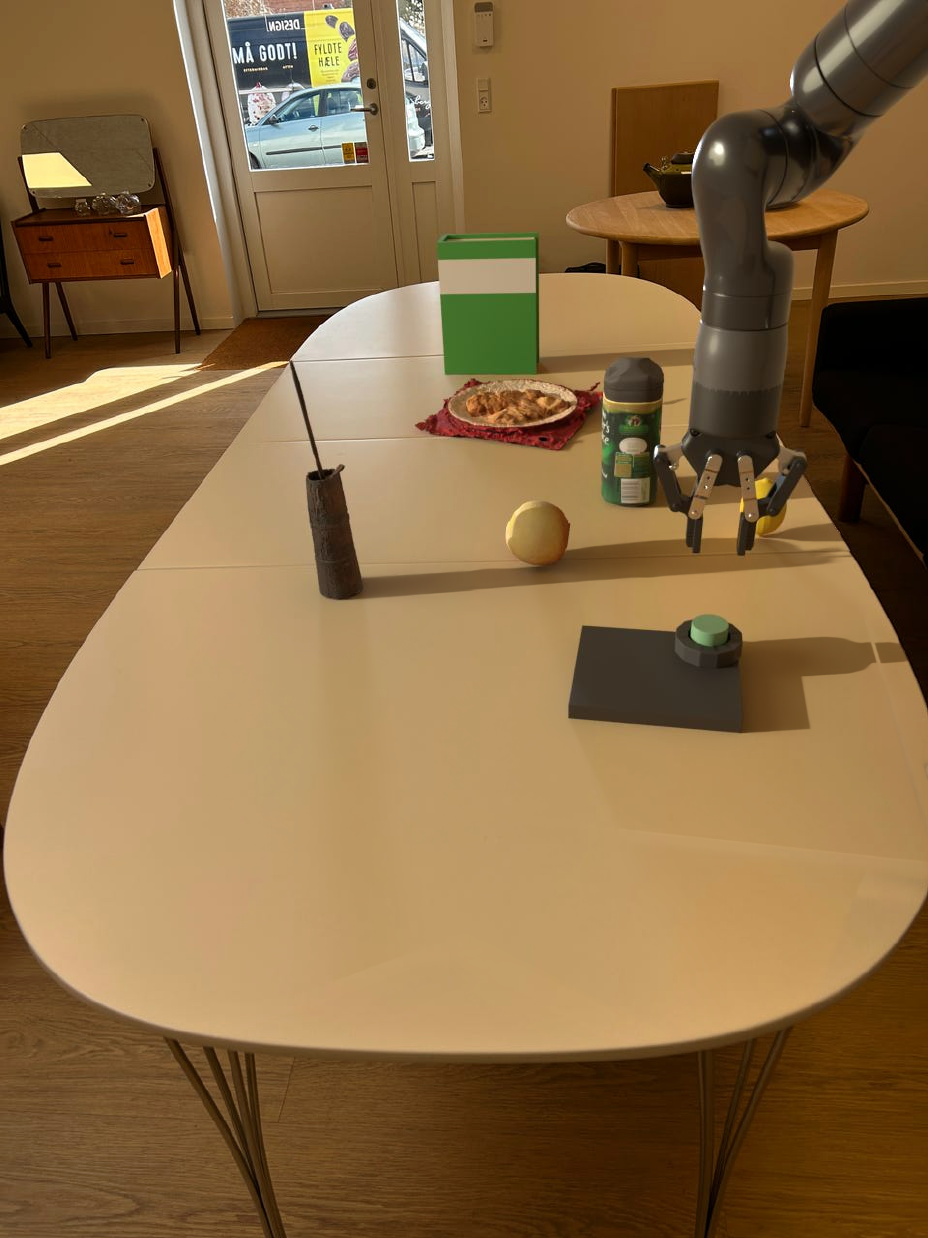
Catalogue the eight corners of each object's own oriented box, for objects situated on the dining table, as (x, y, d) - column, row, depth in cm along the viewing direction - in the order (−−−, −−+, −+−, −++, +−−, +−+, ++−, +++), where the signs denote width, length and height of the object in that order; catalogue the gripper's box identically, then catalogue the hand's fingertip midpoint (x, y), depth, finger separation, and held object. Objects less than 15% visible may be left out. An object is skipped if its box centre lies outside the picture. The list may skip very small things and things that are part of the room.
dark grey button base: (737, 647, 98) (741, 619, 96) (743, 734, 86) (748, 704, 84) (582, 636, 101) (582, 609, 99) (568, 718, 89) (568, 689, 87)
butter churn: (372, 559, 118) (346, 337, 103) (396, 594, 111) (372, 359, 96) (301, 576, 115) (264, 350, 100) (321, 612, 108) (284, 374, 93)
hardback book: (539, 362, 183) (538, 231, 170) (536, 374, 177) (535, 239, 164) (450, 362, 186) (443, 234, 173) (444, 374, 180) (436, 242, 167)
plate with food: (472, 388, 173) (471, 369, 171) (606, 398, 162) (606, 379, 161) (413, 435, 155) (410, 415, 153) (558, 450, 145) (558, 429, 143)
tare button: (726, 629, 95) (728, 615, 94) (727, 649, 92) (729, 634, 91) (690, 627, 96) (691, 612, 95) (690, 646, 93) (691, 632, 92)
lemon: (766, 551, 115) (774, 491, 111) (728, 536, 119) (734, 478, 114) (790, 535, 118) (799, 477, 114) (752, 522, 122) (760, 465, 117)
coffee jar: (601, 479, 135) (605, 351, 125) (656, 480, 134) (665, 351, 124) (598, 508, 127) (602, 374, 117) (657, 510, 126) (666, 375, 116)
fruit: (523, 542, 120) (522, 485, 116) (581, 557, 116) (582, 498, 112) (492, 568, 115) (490, 509, 110) (552, 584, 111) (552, 524, 106)
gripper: (652, 386, 78) (641, 566, 87) (830, 389, 75) (800, 574, 84) (655, 358, 84) (644, 529, 93) (820, 360, 81) (792, 536, 91)
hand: (718, 550), depth 89 cm, fingers open, 3 cm apart
